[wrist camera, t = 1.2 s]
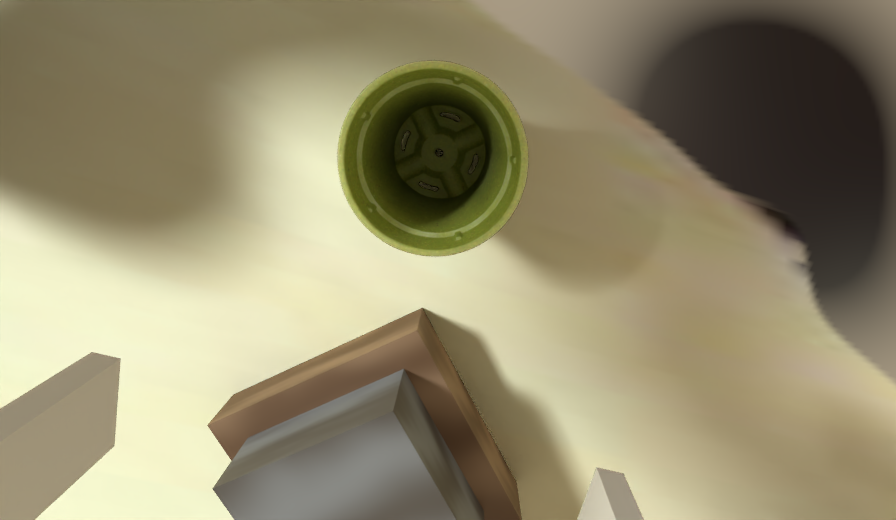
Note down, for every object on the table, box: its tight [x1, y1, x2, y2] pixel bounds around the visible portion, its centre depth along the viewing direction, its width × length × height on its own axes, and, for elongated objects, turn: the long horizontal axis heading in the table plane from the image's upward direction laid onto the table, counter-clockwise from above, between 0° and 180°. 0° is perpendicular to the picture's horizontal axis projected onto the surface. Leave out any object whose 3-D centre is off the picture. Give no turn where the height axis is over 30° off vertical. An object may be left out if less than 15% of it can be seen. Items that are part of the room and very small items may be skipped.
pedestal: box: [208, 308, 522, 520], centre depth 35 cm, size 16×16×9 cm
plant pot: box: [337, 61, 528, 256], centre depth 29 cm, size 9×9×9 cm
